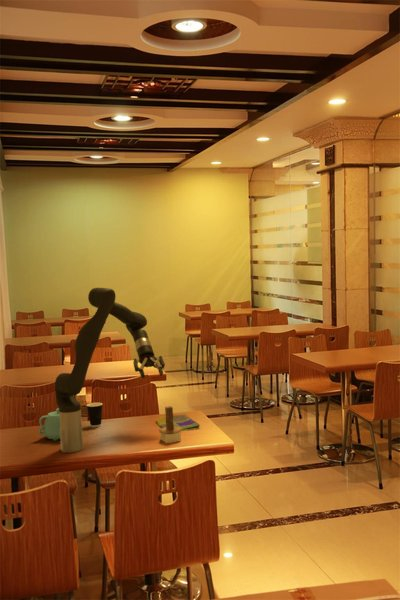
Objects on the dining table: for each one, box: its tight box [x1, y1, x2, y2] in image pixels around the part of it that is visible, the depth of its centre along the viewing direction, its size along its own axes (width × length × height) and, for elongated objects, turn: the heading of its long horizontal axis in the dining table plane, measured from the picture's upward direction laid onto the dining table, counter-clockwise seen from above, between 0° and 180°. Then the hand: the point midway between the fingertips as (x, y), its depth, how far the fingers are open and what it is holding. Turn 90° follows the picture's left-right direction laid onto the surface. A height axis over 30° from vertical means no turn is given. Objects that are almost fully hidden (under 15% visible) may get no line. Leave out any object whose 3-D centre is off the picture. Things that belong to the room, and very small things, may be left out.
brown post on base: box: [159, 405, 182, 434], centre depth 278 cm, size 10×10×11 cm
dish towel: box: [155, 413, 200, 432], centre depth 305 cm, size 18×24×3 cm
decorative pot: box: [38, 407, 60, 442], centre depth 293 cm, size 16×16×14 cm
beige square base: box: [160, 431, 182, 444], centre depth 278 cm, size 7×7×4 cm
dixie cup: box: [86, 402, 103, 428], centre depth 311 cm, size 8×8×11 cm
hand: (152, 376), depth 291 cm, fingers open, 8 cm apart
